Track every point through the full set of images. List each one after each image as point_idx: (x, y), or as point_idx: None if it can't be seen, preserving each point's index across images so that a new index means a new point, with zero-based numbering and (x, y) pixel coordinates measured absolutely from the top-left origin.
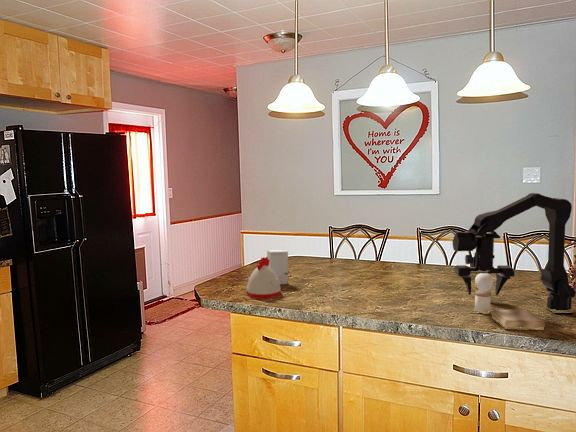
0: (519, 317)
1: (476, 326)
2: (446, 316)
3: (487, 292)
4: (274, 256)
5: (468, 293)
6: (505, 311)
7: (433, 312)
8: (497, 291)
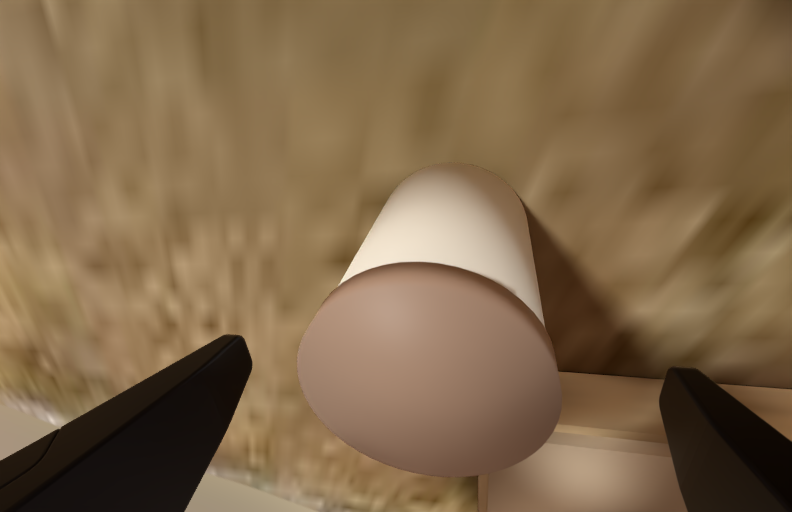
0: None
1: (339, 472)
2: (170, 328)
3: (507, 396)
4: None
5: (217, 348)
6: (581, 485)
7: (72, 249)
8: (683, 496)
